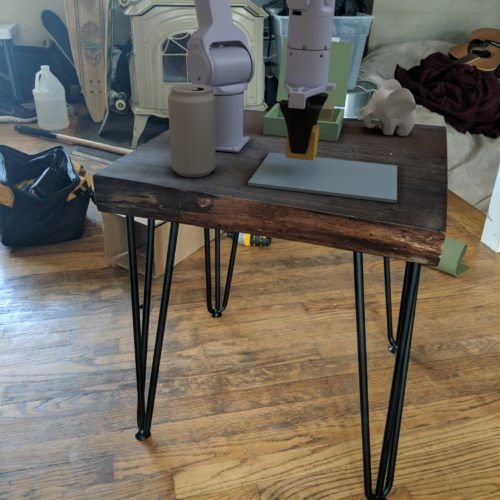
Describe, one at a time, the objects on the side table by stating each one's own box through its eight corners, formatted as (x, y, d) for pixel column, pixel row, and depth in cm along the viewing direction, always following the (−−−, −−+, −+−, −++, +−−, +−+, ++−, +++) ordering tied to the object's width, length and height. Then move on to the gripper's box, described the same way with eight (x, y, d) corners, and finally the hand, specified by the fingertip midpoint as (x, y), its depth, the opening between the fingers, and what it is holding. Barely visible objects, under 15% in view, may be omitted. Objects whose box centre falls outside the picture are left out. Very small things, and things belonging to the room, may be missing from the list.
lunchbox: (336, 141, 91) (338, 123, 89) (262, 134, 93) (263, 116, 92) (342, 125, 100) (344, 108, 99) (275, 119, 103) (276, 103, 102)
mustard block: (285, 157, 73) (287, 130, 71) (290, 149, 77) (292, 122, 75) (313, 160, 72) (315, 132, 70) (317, 152, 76) (319, 125, 74)
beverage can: (208, 180, 72) (207, 93, 66) (165, 176, 73) (160, 90, 68) (220, 166, 78) (220, 84, 72) (179, 162, 79) (176, 81, 73)
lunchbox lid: (353, 42, 97) (353, 46, 100) (283, 38, 100) (286, 42, 103) (344, 106, 98) (345, 109, 101) (276, 100, 101) (278, 103, 104)
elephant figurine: (350, 123, 102) (356, 77, 97) (411, 125, 101) (419, 79, 97) (358, 137, 93) (364, 87, 89) (424, 140, 93) (434, 89, 89)
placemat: (247, 185, 71) (247, 182, 71) (269, 155, 83) (269, 152, 83) (396, 203, 67) (397, 199, 67) (396, 168, 79) (397, 165, 79)
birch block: (308, 129, 95) (310, 107, 93) (311, 123, 98) (313, 102, 96) (329, 131, 94) (332, 109, 92) (332, 125, 97) (334, 104, 95)
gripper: (333, 57, 60) (322, 167, 67) (344, 43, 73) (334, 137, 79) (274, 53, 62) (269, 161, 68) (295, 40, 74) (289, 133, 81)
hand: (301, 148), depth 74 cm, fingers closed on mustard block, 4 cm apart
